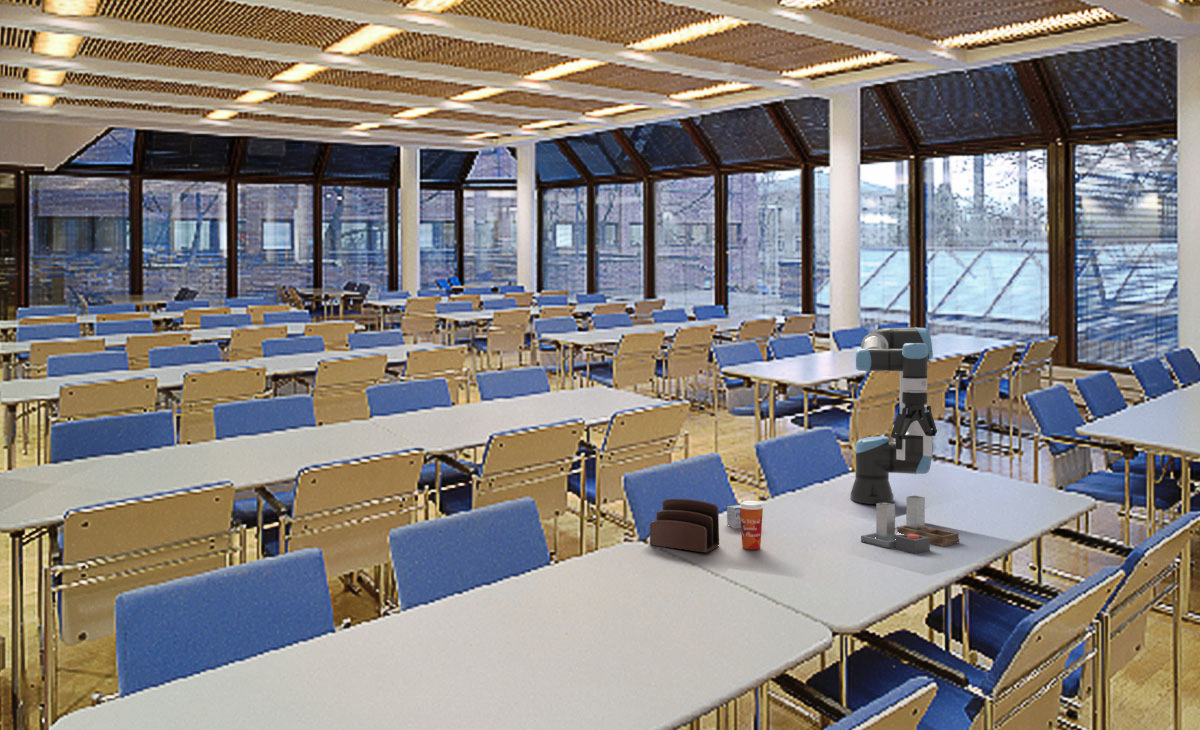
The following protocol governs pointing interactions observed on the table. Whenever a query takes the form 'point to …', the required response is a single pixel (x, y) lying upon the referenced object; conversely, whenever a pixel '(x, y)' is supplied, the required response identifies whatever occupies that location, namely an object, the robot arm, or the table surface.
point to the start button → (912, 536)
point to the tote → (878, 541)
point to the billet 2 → (915, 513)
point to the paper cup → (751, 523)
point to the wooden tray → (933, 535)
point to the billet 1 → (885, 521)
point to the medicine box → (733, 516)
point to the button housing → (913, 544)
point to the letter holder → (686, 525)
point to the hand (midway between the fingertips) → (914, 457)
